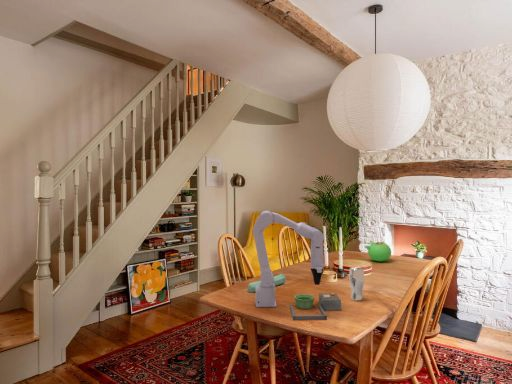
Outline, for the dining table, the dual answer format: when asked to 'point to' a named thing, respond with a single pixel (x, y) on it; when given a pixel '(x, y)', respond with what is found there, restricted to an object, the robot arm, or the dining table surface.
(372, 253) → the green round body
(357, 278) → the beer glass
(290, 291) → the dining table surface
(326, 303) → the box
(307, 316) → the frame
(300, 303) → the ramekin
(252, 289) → the teal cylinder
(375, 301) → the dining table surface
